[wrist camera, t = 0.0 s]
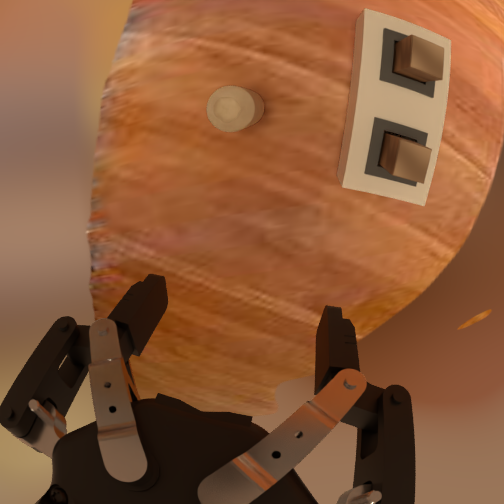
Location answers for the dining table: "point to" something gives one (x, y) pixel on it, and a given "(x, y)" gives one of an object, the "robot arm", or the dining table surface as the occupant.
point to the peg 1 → (418, 59)
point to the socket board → (389, 108)
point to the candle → (234, 108)
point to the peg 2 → (404, 158)
